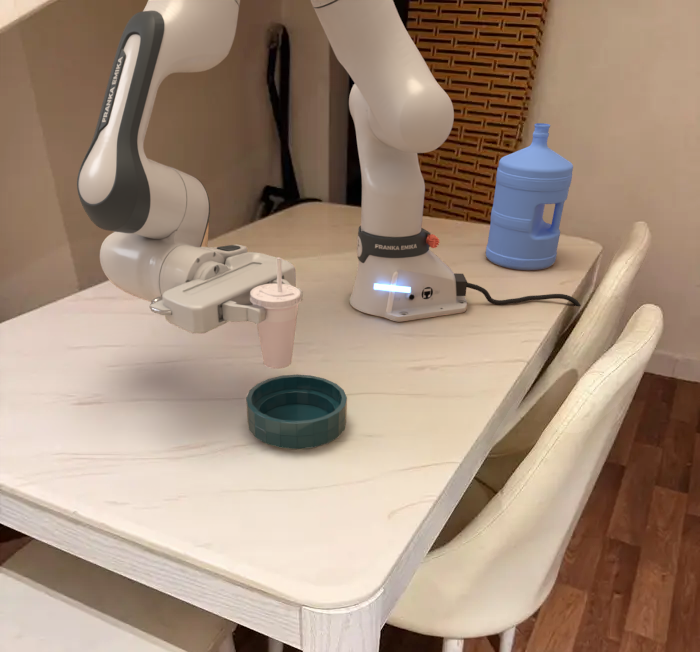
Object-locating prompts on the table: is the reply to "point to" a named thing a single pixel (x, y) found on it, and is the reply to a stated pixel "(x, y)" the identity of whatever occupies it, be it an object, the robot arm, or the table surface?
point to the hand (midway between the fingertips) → (281, 306)
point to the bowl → (296, 411)
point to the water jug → (528, 205)
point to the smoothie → (277, 320)
